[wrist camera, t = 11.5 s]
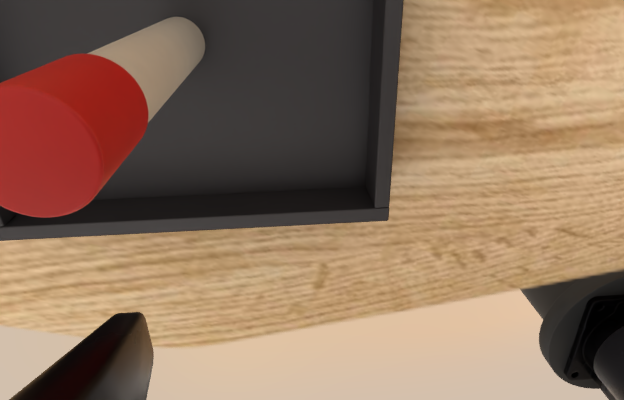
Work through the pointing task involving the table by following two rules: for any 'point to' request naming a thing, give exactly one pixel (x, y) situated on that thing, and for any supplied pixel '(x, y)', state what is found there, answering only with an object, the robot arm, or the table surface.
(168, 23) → the marker
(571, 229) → the table surface
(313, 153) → the tray
